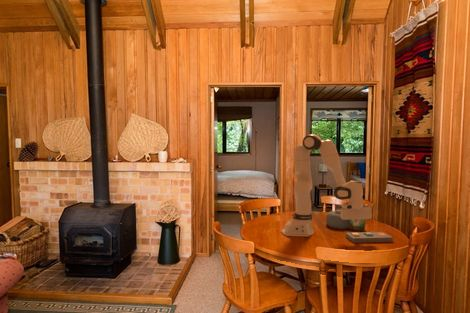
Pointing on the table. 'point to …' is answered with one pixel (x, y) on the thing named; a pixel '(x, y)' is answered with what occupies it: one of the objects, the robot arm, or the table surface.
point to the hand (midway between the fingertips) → (356, 225)
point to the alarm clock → (337, 220)
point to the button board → (369, 237)
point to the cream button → (355, 234)
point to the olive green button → (368, 234)
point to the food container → (361, 225)
